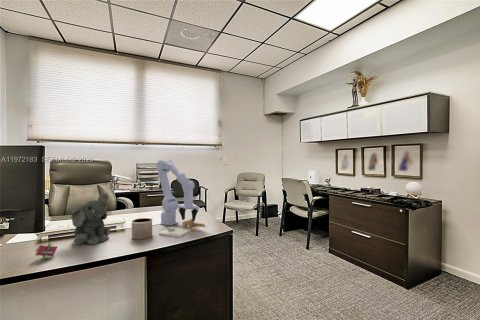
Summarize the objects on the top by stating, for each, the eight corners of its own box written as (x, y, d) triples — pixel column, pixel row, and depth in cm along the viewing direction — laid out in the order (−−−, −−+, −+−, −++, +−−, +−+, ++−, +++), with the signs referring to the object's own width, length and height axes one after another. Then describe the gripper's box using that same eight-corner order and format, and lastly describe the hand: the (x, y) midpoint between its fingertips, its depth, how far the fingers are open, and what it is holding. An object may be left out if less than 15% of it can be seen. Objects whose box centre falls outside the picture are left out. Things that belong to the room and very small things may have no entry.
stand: (190, 231, 143) (190, 226, 143) (179, 237, 131) (179, 232, 131) (171, 228, 147) (171, 224, 147) (159, 234, 136) (159, 230, 136)
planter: (127, 238, 130) (127, 221, 130) (143, 232, 140) (143, 216, 140) (140, 241, 125) (140, 223, 125) (156, 235, 135) (156, 219, 135)
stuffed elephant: (107, 245, 119) (107, 193, 119) (61, 248, 116) (61, 194, 115) (119, 233, 138) (119, 188, 138) (80, 235, 134) (80, 188, 134)
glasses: (204, 225, 154) (204, 219, 154) (195, 231, 143) (195, 224, 143) (192, 224, 157) (192, 217, 157) (182, 229, 146) (182, 222, 146)
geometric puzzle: (59, 247, 110) (46, 237, 107) (63, 251, 106) (49, 240, 102) (44, 260, 106) (29, 250, 102) (47, 265, 102) (32, 254, 98)
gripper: (175, 199, 150) (175, 220, 150) (195, 201, 145) (195, 222, 145) (181, 198, 156) (181, 218, 156) (200, 199, 152) (200, 219, 152)
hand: (188, 220), depth 151 cm, fingers open, 7 cm apart
